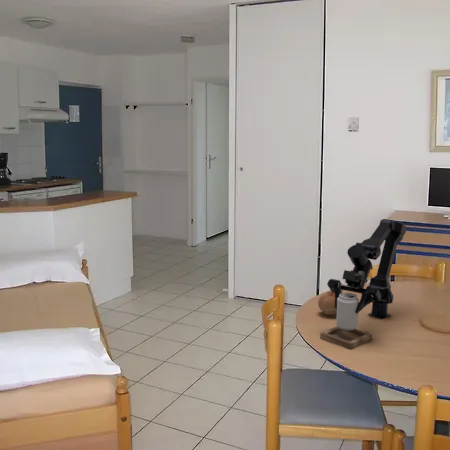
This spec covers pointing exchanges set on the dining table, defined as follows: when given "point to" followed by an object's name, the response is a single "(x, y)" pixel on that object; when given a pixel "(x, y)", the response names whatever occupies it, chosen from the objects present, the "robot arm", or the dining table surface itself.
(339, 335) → the brown wooden tray
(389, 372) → the dining table surface
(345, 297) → the can
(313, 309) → the dining table surface
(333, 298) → the onion
